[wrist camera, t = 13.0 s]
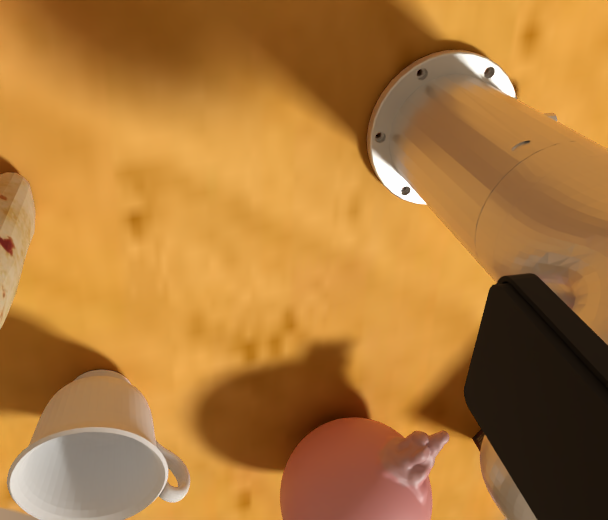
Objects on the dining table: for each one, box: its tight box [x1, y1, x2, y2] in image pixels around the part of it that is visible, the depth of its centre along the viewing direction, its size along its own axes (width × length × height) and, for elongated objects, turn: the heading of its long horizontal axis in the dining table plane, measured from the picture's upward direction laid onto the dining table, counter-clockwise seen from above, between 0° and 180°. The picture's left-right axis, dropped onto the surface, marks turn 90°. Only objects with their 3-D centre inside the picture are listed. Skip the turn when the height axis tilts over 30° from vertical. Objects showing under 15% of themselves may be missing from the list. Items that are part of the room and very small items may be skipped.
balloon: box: [280, 417, 449, 520], centre depth 56 cm, size 15×20×15 cm
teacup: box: [7, 370, 190, 520], centre depth 49 cm, size 12×15×10 cm
